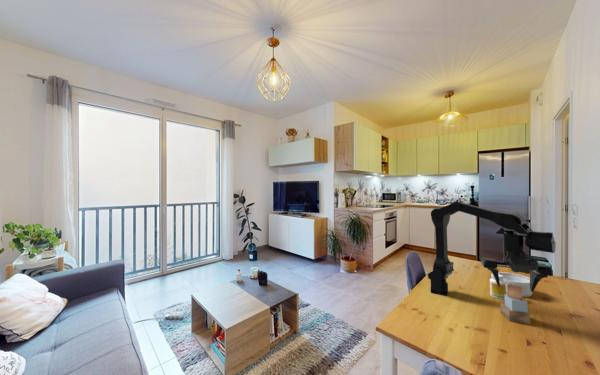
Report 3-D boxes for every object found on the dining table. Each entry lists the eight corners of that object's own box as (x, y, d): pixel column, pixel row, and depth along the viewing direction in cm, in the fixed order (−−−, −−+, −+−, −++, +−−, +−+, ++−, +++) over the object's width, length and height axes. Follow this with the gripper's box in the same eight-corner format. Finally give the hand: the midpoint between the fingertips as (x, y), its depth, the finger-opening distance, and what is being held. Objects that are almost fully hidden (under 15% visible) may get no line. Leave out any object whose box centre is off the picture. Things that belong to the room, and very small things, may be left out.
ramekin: (503, 295, 101) (502, 280, 101) (490, 284, 113) (490, 270, 113) (541, 300, 96) (541, 284, 96) (524, 288, 108) (524, 274, 108)
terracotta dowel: (509, 298, 82) (509, 287, 82) (506, 294, 86) (505, 283, 86) (524, 300, 80) (523, 289, 80) (520, 296, 84) (519, 285, 84)
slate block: (512, 310, 81) (511, 299, 81) (504, 304, 85) (504, 294, 85) (527, 312, 80) (527, 301, 80) (519, 306, 84) (519, 295, 84)
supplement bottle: (509, 300, 97) (508, 277, 97) (494, 299, 98) (494, 276, 98) (500, 294, 102) (500, 273, 102) (487, 293, 103) (486, 272, 103)
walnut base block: (509, 321, 81) (509, 310, 81) (500, 313, 87) (500, 302, 87) (530, 324, 79) (530, 313, 79) (520, 315, 85) (519, 305, 85)
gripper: (486, 249, 81) (487, 292, 81) (560, 255, 72) (562, 304, 71) (480, 242, 91) (481, 281, 90) (544, 248, 81) (546, 291, 81)
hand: (514, 288), depth 83 cm, fingers open, 9 cm apart
